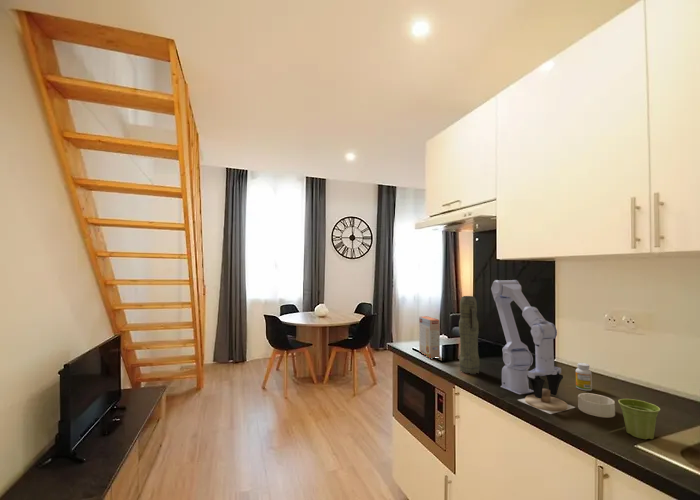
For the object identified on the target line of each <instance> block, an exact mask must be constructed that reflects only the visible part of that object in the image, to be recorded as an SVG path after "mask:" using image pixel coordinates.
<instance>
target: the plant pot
mask: <svg viewBox="0 0 700 500" xmlns="http://www.w3.org/2000/svg"><path fill="white" fill-rule="evenodd" d="M617 402H618V404H619V407H620V409H621V412H622V416H623V421H624V426H625V430H626V431H625V432H626V433H627V434H629V435H631V436H632V437H635V438H637V439H642V440H648V439H649V440H653V439H655V433H656V432H655V429H656V423H657V417H658V415H659V412H661V408H660V407H659V406H657V405H656V404H653V403H651V402H647V401H644V400H640V399H632V398H621V399H618V400H617Z"/></svg>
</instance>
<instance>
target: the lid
mask: <svg viewBox="0 0 700 500" xmlns="http://www.w3.org/2000/svg"><path fill="white" fill-rule="evenodd" d="M524 398H525V401H526V403H527V404H526V405H528V404H529V405H528V406H530V405H531V406H530V407H532V406H533V408H536V409H537V408H539V409H542V410H548V411H561V412H564V410H565V411H567V410H566V409H567V404H568V403H567V402H565V400H562V399H560V398H558V397H554V396H551V394H550V390H549V388H544V387H543V389H542V398H541V399H540V398H537V397H535V394H528V395H526V396H525V397H524ZM539 409H538V410H539ZM542 410H541V411H542Z"/></svg>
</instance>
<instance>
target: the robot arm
mask: <svg viewBox="0 0 700 500" xmlns="http://www.w3.org/2000/svg"><path fill="white" fill-rule="evenodd" d="M490 290H491V294H492V297H493V300H494V301H493V302H495V306H496V309H497V312H498V316H499V320H500V324H501V326H502V331H503V334H504V337H505V341H506V344H505V345H504V346H503V347H502V360H503V363H504V366H503V367H502V368H501V385H500V388H502V389H505V390H508V391H509V392H513V393H515V394H517V395H526V394H530V393H533V395H535V397H537V398H540V399H541V398H542V389H543V388H544V384H545V382H546V380H545V379H542V378H541V377H544V376H546V379H547V383H548V389H549V390H550V395H553V396H557V394H558V389H559V386H560V384H561V382H562V380H563V378H564V375H563V374H562V368H561V367H559V366H555V358H554V357H555V355H554V354H555V353H554V351H555V350H554V339H556V337H557V335H558V330H557V328H556V325H555V324H554V323H553V322H550V321H548V320H546V318H544V316H543V315H542V314H541V313H540V311H539V309H538V308H537V307H536V306H531V304H530V303H529V301H528V299H527V298H526V296H525V295H524V293H523V292H522V285H521V284H520V282H519V280H517V279H512V280H511V279H510V280H509V279H507V280H501V279H499V280H498V279H494V281H493V282H492V284H491V288H490ZM512 302H515V304H516V305H517V306H518V307H519V308H520V310H521V311H522V313H521V315H522V317H523V319H524V320H525V322H526V323H527V324H528V326H529V327H530V334H531V337H532V340H533V343H534V350H535V351H534V353H535V367H534V368H533V369H531V370H529V369H530V368H531V366H532V365H533V362H534V357H533V354H532V352H531V351H530V350H529V347H528V345H527V344H525V343H524V342H523V341H521V338H520V333H519V330H518V327H517V324H516V320H515V317H514V313H513V310H512V305H511V303H512ZM529 383H530V385H531V388H532V389H531V388H530V387H529Z"/></svg>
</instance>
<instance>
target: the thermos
mask: <svg viewBox="0 0 700 500" xmlns="http://www.w3.org/2000/svg"><path fill="white" fill-rule="evenodd" d="M459 313H460V315H459V319H458V320H459V321H458V334H459V338H460V339H459V343H460V344H459V345H460V346H459V349H460V350H459V351H460V352H459V357H458V358H459V360H458V361H459V363H458V365H459V372H460V371H462V372H465V373H470V374H469V375H477V374H476V373H478V374H479V373H480V356H479V341H478V339H479V338H478V337H479V334H480V333H479V331H480V330H479V329H480V328H479V327H480V326H479V320H478V316H477V315H478V304H477V299H476V297H475V296H473V295H463V296H461V299H460V300H459ZM462 372H461V373H462ZM465 373H464V374H465Z"/></svg>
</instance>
